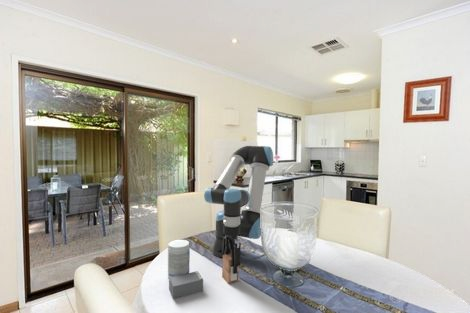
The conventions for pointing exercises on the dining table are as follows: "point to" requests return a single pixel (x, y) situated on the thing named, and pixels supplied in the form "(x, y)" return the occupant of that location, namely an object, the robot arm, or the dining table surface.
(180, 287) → the grey long rectangular block
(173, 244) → the supplement tub
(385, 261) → the dining table surface
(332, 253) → the dining table surface
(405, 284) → the dining table surface
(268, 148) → the robot arm
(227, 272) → the light brown wooden block
